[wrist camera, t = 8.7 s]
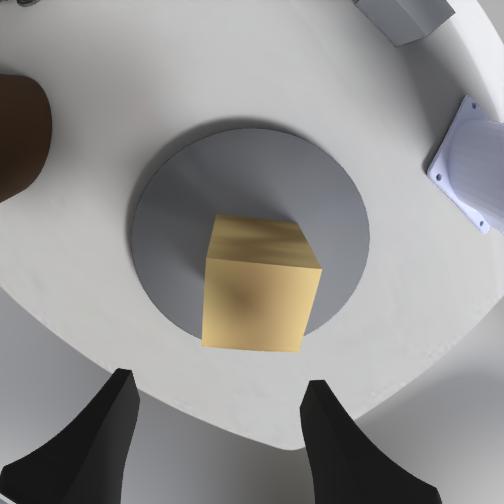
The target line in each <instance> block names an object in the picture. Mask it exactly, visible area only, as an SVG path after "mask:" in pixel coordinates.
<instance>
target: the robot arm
mask: <svg viewBox="0 0 504 504" xmlns="http://www.w3.org/2000/svg"><path fill="white" fill-rule="evenodd" d="M472 104H473V107H472ZM427 175H428V177H429V178H430V179H431V180H432V181H433V182H434V183H435V184H436V185H437V186H438V187H439V188H440V189H441V190H442V191H443V192H444V193H445V194H446V195H447V196H448V197H449V198H450V199H451V200H452V201H453V202H454V203H455V204H456V205H457V206H458V207H459V208H460V209H461V210H462V211H463V212H464V213H465V215H466V216H467V217H468V218H469V219H470V220H471V221H472V222H473V223H474V225H475V226H476V227H477V228H478V229H479V230H480V231H481V232H482V233H483V234H486V233H487V232H488V231H489V229H490V227H493V228H495V229H496V230H498V231H500V232H501V233H503V234H504V123H501V122H495V121H490V119H489V118H488V117H487V115H486V114H485V113H484V111H483V110H482V109H481V108H480V106H479V105H478V104H477V103H476V101H475V100H474V99H473V98H472V97H471V96H468V95H466V96H465V97H464V99H463V101H462V103H461V105H460V108H459V110H458V112H457V114H456V116H455V118H454V120H453V122H452V124H451V126H450V128H449V130H448V132H447V134H446V136H445V138H444V140H443V142H442V144H441V146H440V148H439V150H438V152H437V154H436V155H435V157H434V159H433V161H432V163H431V165H430V166H429V168H428V171H427ZM437 175H438V179H436V176H437ZM139 403H140V397H139V394H138V391H137V387H136V384H135V380H134V377H133V373H132V370H126V369H120V368H118V369H116V370H115V372H114V373H113V374H112V376H111V377H110V379H109V380H108V381H107V382H106V383H105V385H104V386H103V387H102V389H101V390H100V391H99V392H98V393H97V394H96V396H95V397H94V398H93V399H92V400H91V401H90V403H89V404H88V405H87V406H86V407H85V408H84V409H83V410H82V411H81V412H80V413H79V414H78V416H77V417H76V418H75V419H74V420H73V421H72V422H71V423H70V424H69V425H67V426H66V427H65V428H64V429H63V430H62V431H61V432H60V433H58V434H57V435H56V436H55V437H54V438H52V439H51V440H50V441H48V442H47V443H45V444H44V445H43V446H41V447H40V448H38V449H36V450H35V451H33V452H32V453H30V454H28V455H27V456H25V457H23V458H21V459H19V460H17V461H15V462H13V463H11V464H8V465H6V466H4V467H3V469H2V471H1V474H0V493H1V494H2V495H4V496H5V497H7V498H8V499H10V500H11V501H13V502H15V503H16V504H120V502H121V488H122V480H123V471H124V466H125V461H126V457H127V454H128V450H129V446H130V443H131V439H132V436H133V432H134V429H135V425H136V421H137V416H138V410H139ZM300 417H301V427H302V432H303V437H304V441H305V445H306V450H307V453H308V458H309V462H310V466H311V471H312V476H313V483H314V493H315V504H442V501H441V498H440V495H439V493H438V490H437V488H435V487H433V486H431V485H429V484H427V483H425V482H423V481H422V480H420V479H418V478H416V477H414V476H413V475H412V474H410V473H408V472H407V471H406V470H404V469H403V468H401V467H400V466H399V465H397V464H396V463H394V462H393V461H392V460H391V459H389V458H388V457H387V456H386V455H385V454H384V453H382V451H380V450H379V449H378V448H377V447H376V446H375V445H374V444H373V443H372V442H371V441H370V440H369V439H368V438H367V436H366V435H365V434H364V433H363V432H362V431H361V430H360V428H359V427H358V426H357V425H356V424H355V422H354V421H353V420H352V418H351V417H350V416H349V415H348V413H347V412H346V411H345V409H344V408H343V407H342V405H341V404H340V402H339V401H338V399H337V398H336V396H335V395H334V393H333V392H332V390H331V389H330V387H329V386H328V384H327V383H326V381H325V380H310V381H309V384H308V387H307V390H306V393H305V395H304V398H303V401H302V403H301V406H300ZM0 504H8V503H6V502H4V501H3V500H1V499H0Z"/></svg>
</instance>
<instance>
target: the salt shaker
mask: <svg viewBox="0 0 504 504" xmlns="http://www.w3.org/2000/svg"><path fill="white" fill-rule="evenodd" d="M1 1H4V0H0V2H1ZM6 1H7V0H6ZM39 1H40V0H17V3H18V4H19V5H20V6H23V7H27V6H31V5H33V4H36V3H37V2H39Z"/></svg>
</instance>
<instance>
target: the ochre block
mask: <svg viewBox="0 0 504 504" xmlns="http://www.w3.org/2000/svg"><path fill="white" fill-rule="evenodd" d="M321 272H322V268H321V266H320V264H319V262H318V260H317V258H316V256H315V254H314V252H313V251H312V249H311V247H310V245H309V243H308V241H307V239H306V238H305V236H304V234H303V232H302V230H301V228H300V227H299V225H298V223H291V222H283V221H275V220H266V219H257V218H248V217H239V216H230V215H220V214H216V218H215V222H214V227H213V231H212V235H211V239H210V244H209V248H208V252H207V257H206V268H205V284H204V303H203V325H202V346H205V347H215V348H226V349H238V350H253V351H271V352H298V351H299V348H300V345H301V342H302V339H303V335H304V332H305V329H306V326H307V322H308V319H309V316H310V312H311V309H312V305H313V302H314V298H315V295H316V291H317V287H318V284H319V280H320V276H321Z"/></svg>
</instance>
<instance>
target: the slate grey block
mask: <svg viewBox="0 0 504 504" xmlns="http://www.w3.org/2000/svg"><path fill="white" fill-rule="evenodd" d="M355 5H356V6H357V7H358V8H359V9H360V10H361V11H362V12H363V13H364V14H365V15H366V16H367V17H368V18H369V19H370V20H371V21H372V22H373V23H374V24H375V25H376V26H377V27H378V28H379V29H380V30H381V31H382V32H383V33H384V35H385V36H386V37H387V38H388V39H389V40H390V41H391V42H392V43H393V45H394V46H395V47H398V46H401V45H403V44H406V43H409V42H412V41H415V40H418V39H421V38H424V37H427V36H428V35H430V34H431V33H432V32H433V31H434V30H435V29H437V28H438V27H439V26H440V25H441V24H443V23H444V22H445V21H446V20H447V19H448V18H450V17H451V16H452V15H453V14H455V13H456V12H455V11H454V10H453V8H452V7H451V6H450V5H449V3H448V2H447V1H446V0H359V1H358V2H357V3H356V4H355Z"/></svg>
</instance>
